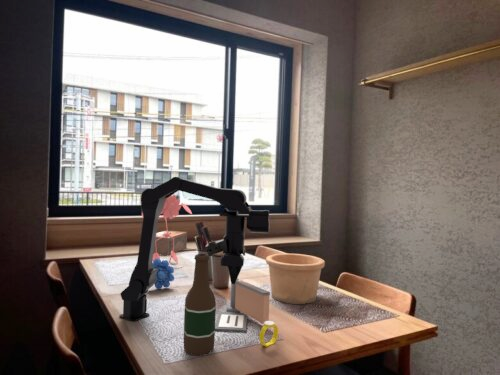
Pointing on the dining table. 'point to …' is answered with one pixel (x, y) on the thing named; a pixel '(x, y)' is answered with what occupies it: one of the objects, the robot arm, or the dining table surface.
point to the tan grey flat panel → (250, 300)
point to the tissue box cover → (170, 242)
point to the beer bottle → (200, 311)
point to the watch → (263, 330)
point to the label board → (231, 320)
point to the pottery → (294, 277)
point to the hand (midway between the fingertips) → (233, 283)
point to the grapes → (163, 273)
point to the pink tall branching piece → (169, 212)
